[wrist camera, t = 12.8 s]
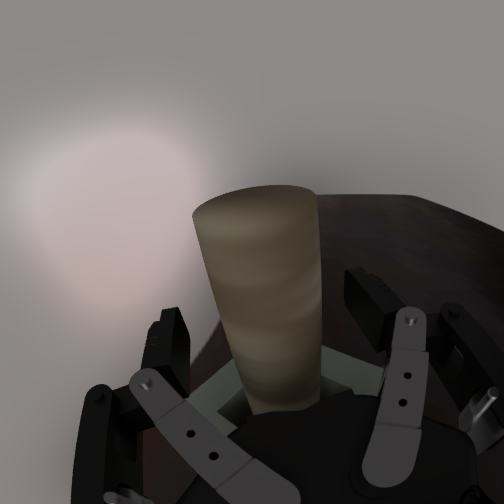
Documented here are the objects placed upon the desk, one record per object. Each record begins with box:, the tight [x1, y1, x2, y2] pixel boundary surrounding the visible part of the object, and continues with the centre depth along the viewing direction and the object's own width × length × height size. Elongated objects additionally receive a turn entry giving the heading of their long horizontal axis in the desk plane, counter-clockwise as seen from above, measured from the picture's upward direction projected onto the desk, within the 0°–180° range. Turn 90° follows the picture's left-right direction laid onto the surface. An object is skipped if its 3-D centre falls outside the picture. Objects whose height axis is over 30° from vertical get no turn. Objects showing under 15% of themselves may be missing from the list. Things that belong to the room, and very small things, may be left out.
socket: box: [184, 345, 383, 436], centre depth 15 cm, size 10×10×4 cm
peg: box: [192, 185, 322, 415], centre depth 12 cm, size 4×4×16 cm
